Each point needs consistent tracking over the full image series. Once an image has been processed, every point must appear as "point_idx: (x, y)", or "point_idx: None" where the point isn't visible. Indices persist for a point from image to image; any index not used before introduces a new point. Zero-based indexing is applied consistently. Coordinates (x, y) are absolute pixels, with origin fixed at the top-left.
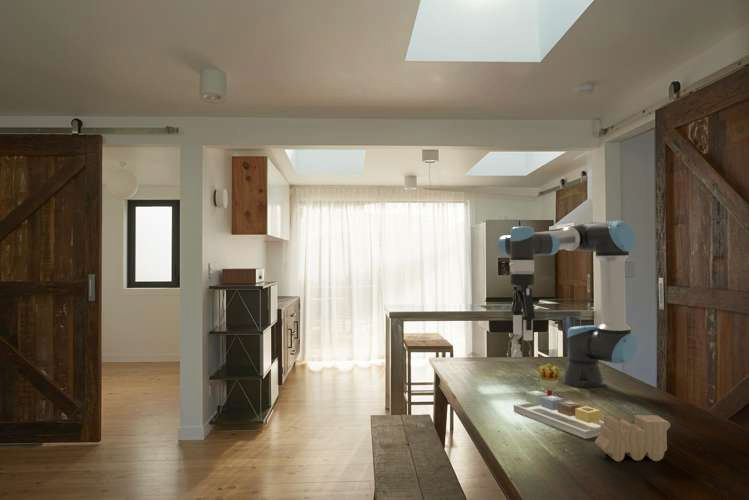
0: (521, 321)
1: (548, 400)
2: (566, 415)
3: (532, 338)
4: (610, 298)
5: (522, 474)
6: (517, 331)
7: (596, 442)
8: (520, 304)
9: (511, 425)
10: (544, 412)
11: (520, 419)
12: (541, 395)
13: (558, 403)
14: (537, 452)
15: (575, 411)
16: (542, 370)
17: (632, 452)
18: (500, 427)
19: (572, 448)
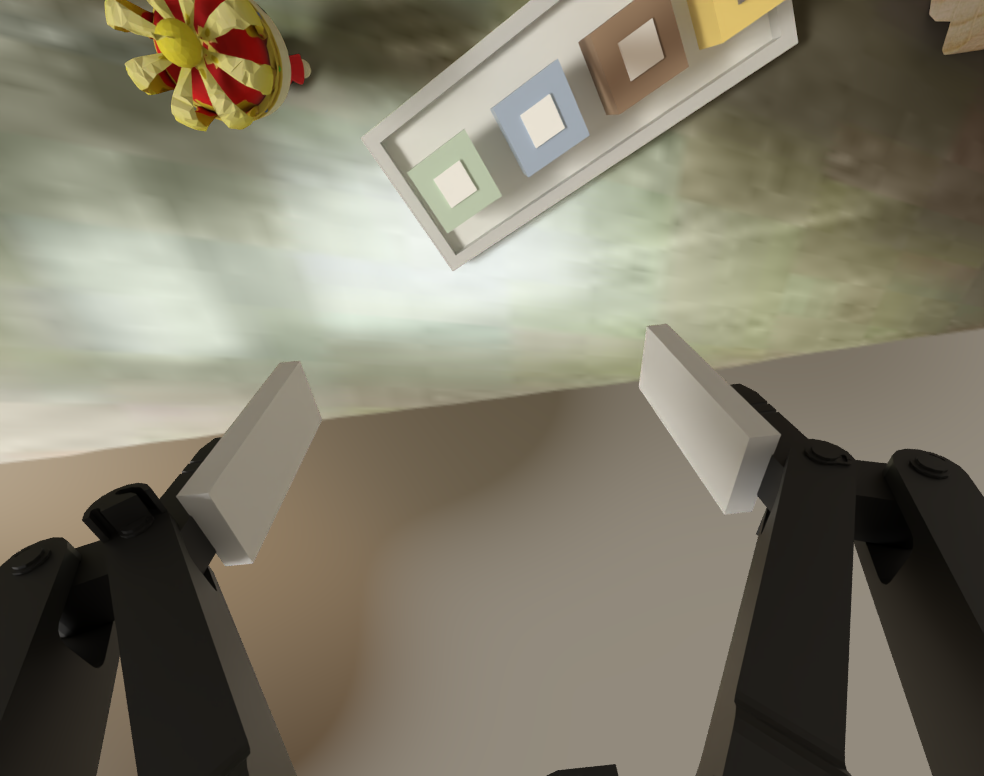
0: (246, 437)
1: (567, 150)
2: (541, 52)
3: (674, 332)
4: None
5: (932, 310)
6: (305, 407)
7: (964, 51)
8: (246, 694)
9: (607, 292)
10: (503, 153)
11: (548, 255)
12: (485, 166)
13: (622, 111)
14: (831, 252)
15: (716, 44)
16: (162, 90)
17: None
18: (622, 325)
19: (842, 133)
